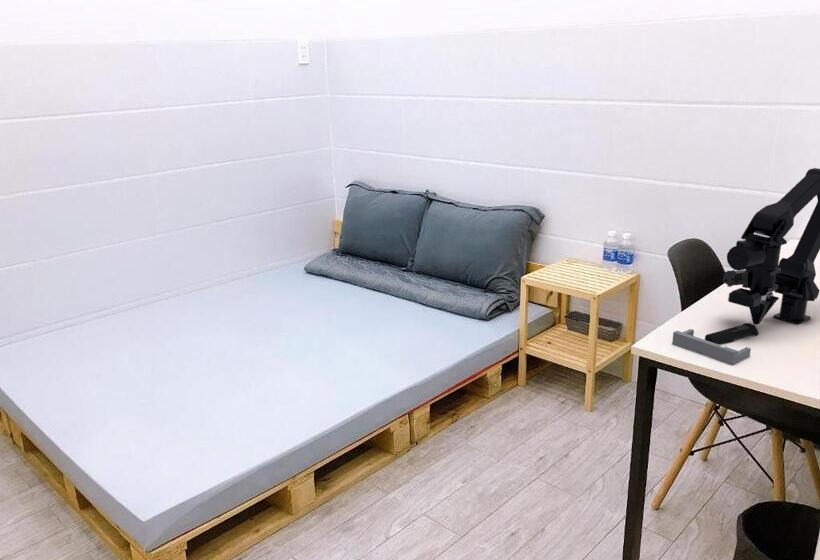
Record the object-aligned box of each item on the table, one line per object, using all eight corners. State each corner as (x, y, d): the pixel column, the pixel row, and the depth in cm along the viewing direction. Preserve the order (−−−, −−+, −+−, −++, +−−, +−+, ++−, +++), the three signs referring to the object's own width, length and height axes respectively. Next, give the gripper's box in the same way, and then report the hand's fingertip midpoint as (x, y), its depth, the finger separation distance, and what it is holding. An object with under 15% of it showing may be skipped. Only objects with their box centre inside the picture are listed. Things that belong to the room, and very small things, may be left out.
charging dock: (689, 336, 165) (690, 323, 163) (749, 356, 153) (751, 342, 152) (672, 343, 161) (673, 330, 160) (732, 365, 149) (734, 351, 148)
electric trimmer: (699, 343, 162) (700, 331, 161) (746, 331, 167) (748, 319, 166) (712, 349, 158) (713, 337, 157) (759, 336, 164) (761, 324, 163)
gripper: (752, 249, 174) (744, 307, 179) (711, 263, 164) (704, 323, 168) (797, 259, 165) (787, 319, 170) (756, 274, 155) (747, 337, 160)
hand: (755, 324), depth 167 cm, fingers closed
